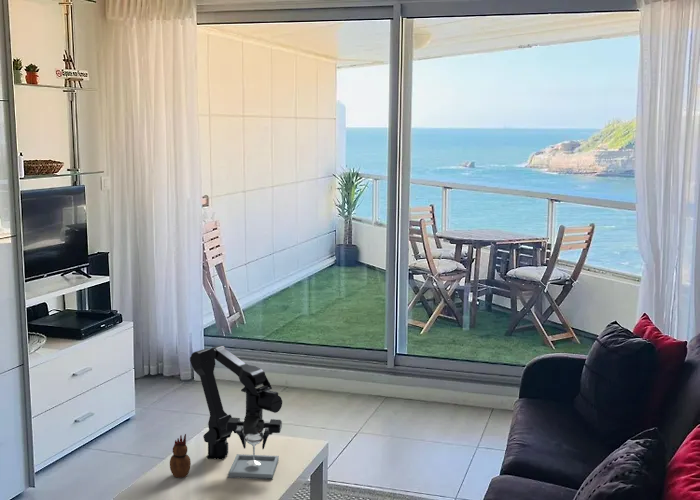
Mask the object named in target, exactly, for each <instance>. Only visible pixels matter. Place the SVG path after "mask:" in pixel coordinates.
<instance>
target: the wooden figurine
mask: <svg viewBox="0 0 700 500" xmlns="http://www.w3.org/2000/svg"><path fill="white" fill-rule="evenodd" d="M172 453H173V454H172V455H171V456H170V459H169V469H170V472H171V474H172V476H173V477H175V478H179V479H182V478H186V477H187V476H188V475H189V473H190V469H191V466H192V465H191V458H190V456H189V454H188V447H187V433H184V436H183V437H182V434H180V437H179V438H177V439H175V441H174V445H173V447H172Z"/></svg>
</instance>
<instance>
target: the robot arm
mask: <svg viewBox="0 0 700 500" xmlns="http://www.w3.org/2000/svg"><path fill="white" fill-rule="evenodd" d="M189 361H190V364H191V367H192V369H193V371H194V372H195V373H196V374H197V375H198V376H199V379H200V382H201V386H202V389H203V393H204V394H203V395H204V397H205V401H206V404H207V408H208V411H209V418H208V423H207V426H208V431H206V433H204V435H203V441H204V442H205V443H207V456H206V459H208V460H226V457H227V456H228V454H229V442H228V440H227V439H230V438H231V435H232V433H234V434H237V436H238V438H240V439H239V440H240V441H241V444H242V447H243V449H247V447H246V446H247V445H246V444H247V442H246V441H245V438H244V434H253V435H256V434H257V433H258V431H260V430H263V429H264V431H263V434H264V437H263V440H262V445H261V446H262V450H264V449H265V447H266V444H267V440H268V438H269V436H272V435H273V434H280V433H281V430H282V428H283V421H282V420H281V419H274V418H273V419H272V418H271V419H270V421H268V422H265V420H264V419H263V412H264V411H268V412H271V413H274V414H276V413H278V412H279V411H281V409H282V407H283V400H282V397H281V396H280V395H279V392H277V391H273V390H272V389H273V388H272V385H271V383H270V381H269V379H268V377H267V375H266V372H265V371H264V370H263V369H261V368H259V367H257V366H255V365H251V364H247V363H245V362H244V361H243V360H241V359H240V358H238V357H237V356H236V355H235V354H233V353H231V352H230V351H229V350H228V349H226V347H225V346H224V345H217V346H214V347H211V348H204V349H201V350H197V351H194V352H192V353H191V355H190V356H189ZM216 361H218V363H220V364H221V365H222V366H224V367H225V368H226V369H228V370H230V371H231V372H232V373H233V374H235V375H236V376H237V377H238V379H239V382H240V383H241V384H242V386H244V387H243V388H242V389H241V390H240V391H241V392H242V393H245V415H244V420H243V421H241V418H240V417H232V414H230V413H229V414H227V412H225V410H224V407H223V404H222V400H221V395H220V391H219V388H218V385H217V380H216V377H215V367H216ZM259 386H260V387H259ZM263 410H264V411H263Z"/></svg>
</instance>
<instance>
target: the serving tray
mask: <svg viewBox="0 0 700 500" xmlns="http://www.w3.org/2000/svg"><path fill="white" fill-rule="evenodd" d="M279 459H280V458H279V455H270V454H269V455H265V454H263V455H262V454H255V460H259V461H261V464H260V465H257V466H250V465H248V464H247V462H248V461H250V460H253V454H243V453H241V454H239V453H237V454H236V456H235V458H234V460H233V462H232V463H231V467H230V469H229V471H228V473H227V474H228V477H227V478H229V479H253V480H273V479H274V476H275V472H276V470H277V467H278V464H279Z"/></svg>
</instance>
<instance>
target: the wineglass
mask: <svg viewBox="0 0 700 500" xmlns="http://www.w3.org/2000/svg"><path fill="white" fill-rule="evenodd" d="M264 431H265V428H264V429H263V430H260V431H258V433H257V434H256V435H253V434H244V438H245V441H246V444H249V445H251V446H252V455H253V460H250V461H248V462H247V464H248V465H250V466H257V465H260V464H261V461H259V460H255V455H256V446H257V445H259V444H261V442H263V437H264Z"/></svg>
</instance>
